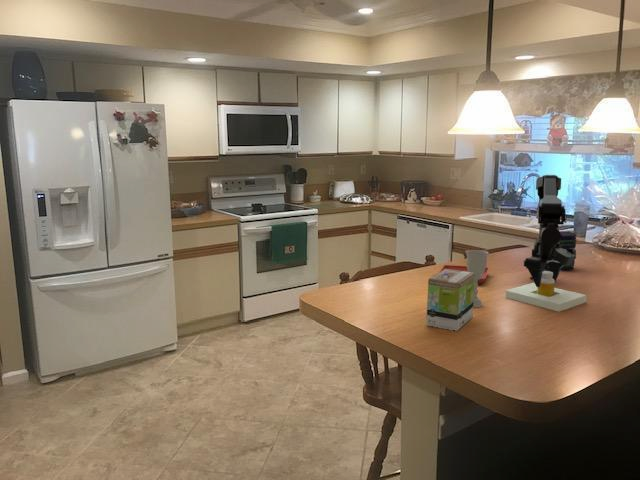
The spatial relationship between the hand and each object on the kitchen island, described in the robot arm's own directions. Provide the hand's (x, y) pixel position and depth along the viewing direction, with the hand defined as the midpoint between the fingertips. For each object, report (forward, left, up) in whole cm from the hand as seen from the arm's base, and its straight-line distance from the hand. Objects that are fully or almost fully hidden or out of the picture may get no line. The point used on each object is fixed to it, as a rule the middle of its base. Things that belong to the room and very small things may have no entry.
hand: (545, 284), depth 183 cm
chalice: (-11, -23, -6) cm, 26 cm away
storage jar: (-21, +45, -6) cm, 50 cm away
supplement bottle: (0, 0, -6) cm, 6 cm away
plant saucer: (-36, +1, -6) cm, 37 cm away
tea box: (-5, -42, -6) cm, 43 cm away
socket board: (0, 0, -5) cm, 5 cm away
